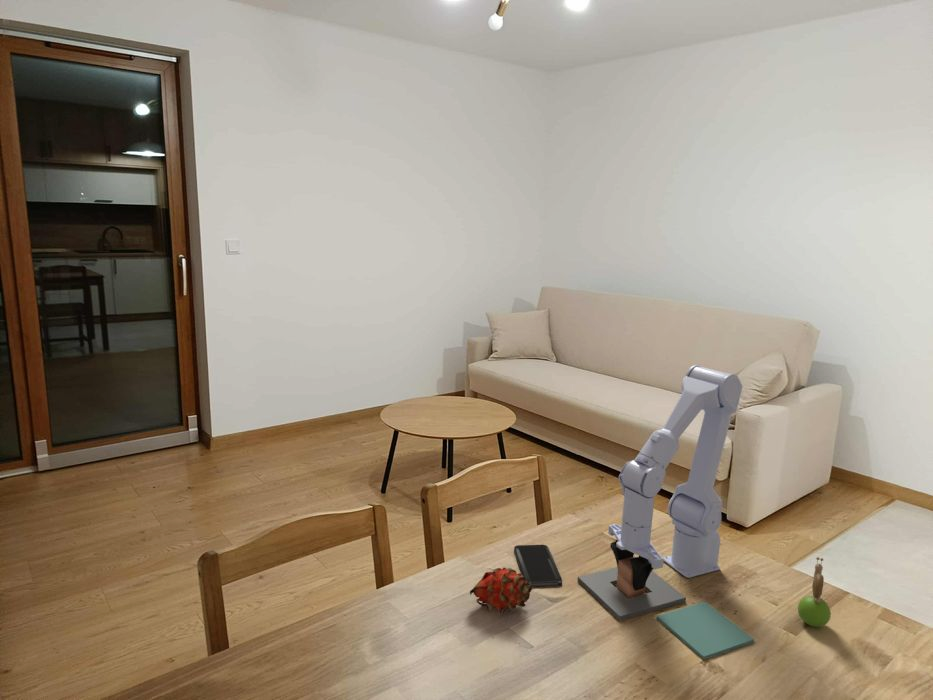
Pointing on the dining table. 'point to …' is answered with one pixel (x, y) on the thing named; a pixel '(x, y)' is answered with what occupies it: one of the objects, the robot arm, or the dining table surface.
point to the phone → (537, 565)
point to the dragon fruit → (502, 590)
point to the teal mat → (705, 630)
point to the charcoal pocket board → (626, 607)
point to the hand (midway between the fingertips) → (631, 582)
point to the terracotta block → (627, 579)
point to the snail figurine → (815, 602)
